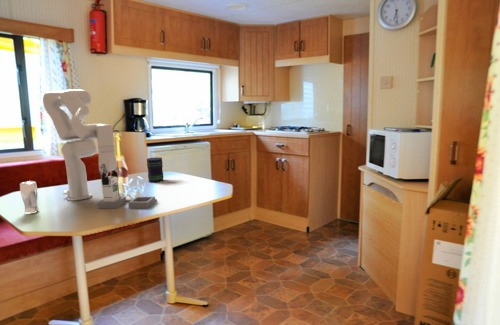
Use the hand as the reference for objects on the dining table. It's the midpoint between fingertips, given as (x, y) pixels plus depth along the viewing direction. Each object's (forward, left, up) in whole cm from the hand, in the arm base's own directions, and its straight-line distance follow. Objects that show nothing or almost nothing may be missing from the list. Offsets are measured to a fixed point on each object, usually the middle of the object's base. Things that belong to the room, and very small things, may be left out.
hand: (110, 182), depth 179 cm
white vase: (-35, -12, -12) cm, 39 cm away
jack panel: (+8, +1, -12) cm, 14 cm away
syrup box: (0, 0, -12) cm, 12 cm away
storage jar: (+4, +53, -12) cm, 55 cm away
